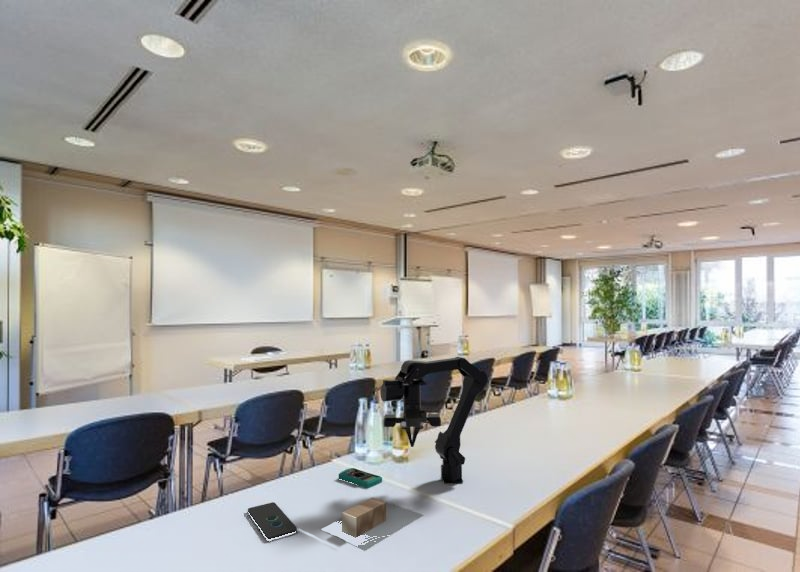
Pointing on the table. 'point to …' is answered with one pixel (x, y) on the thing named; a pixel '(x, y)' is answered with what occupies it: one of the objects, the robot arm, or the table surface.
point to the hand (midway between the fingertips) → (412, 446)
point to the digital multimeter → (360, 477)
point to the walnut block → (363, 517)
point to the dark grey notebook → (272, 520)
